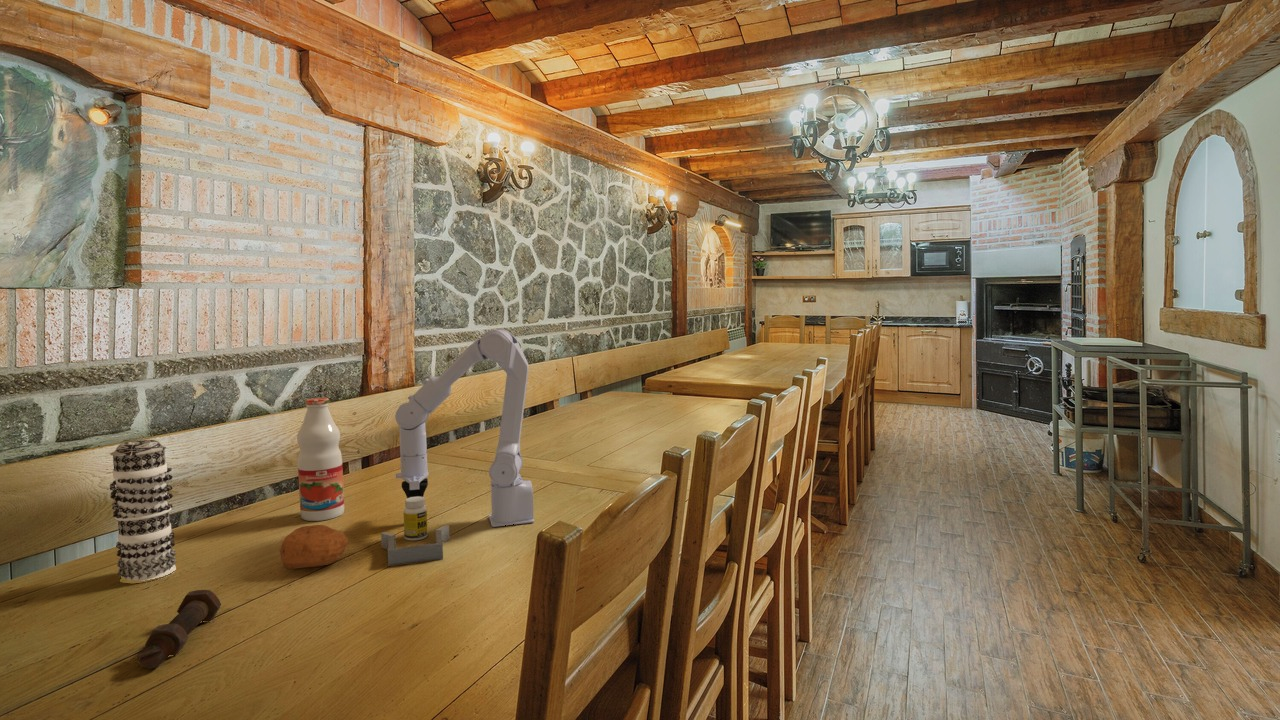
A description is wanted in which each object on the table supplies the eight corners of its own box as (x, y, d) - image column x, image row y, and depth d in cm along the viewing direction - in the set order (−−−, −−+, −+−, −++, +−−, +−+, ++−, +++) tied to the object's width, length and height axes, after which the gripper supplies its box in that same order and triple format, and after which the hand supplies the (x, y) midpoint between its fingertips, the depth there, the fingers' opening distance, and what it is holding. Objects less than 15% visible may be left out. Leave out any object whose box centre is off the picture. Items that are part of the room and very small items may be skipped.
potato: (301, 555, 127) (299, 519, 126) (357, 555, 126) (355, 519, 126) (273, 575, 118) (271, 535, 117) (333, 575, 117) (331, 536, 117)
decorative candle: (191, 567, 121) (182, 438, 119) (139, 588, 112) (128, 449, 110) (157, 561, 124) (148, 435, 122) (104, 581, 115) (93, 445, 113)
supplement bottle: (420, 542, 134) (418, 503, 133) (399, 540, 134) (398, 501, 134) (432, 534, 138) (430, 496, 137) (412, 532, 139) (410, 495, 138)
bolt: (145, 685, 87) (198, 627, 101) (179, 665, 87) (228, 610, 102) (117, 653, 85) (175, 599, 100) (152, 632, 86) (205, 581, 101)
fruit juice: (345, 507, 157) (340, 395, 155) (343, 518, 149) (338, 400, 146) (302, 512, 154) (296, 397, 151) (298, 524, 145) (292, 402, 143)
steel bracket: (449, 538, 136) (448, 524, 135) (452, 557, 125) (451, 543, 125) (381, 546, 131) (381, 532, 131) (378, 567, 120) (378, 552, 120)
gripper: (395, 448, 150) (398, 504, 151) (393, 462, 136) (396, 524, 137) (427, 446, 152) (429, 501, 153) (428, 460, 138) (430, 520, 140)
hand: (415, 512), depth 145 cm, fingers closed
